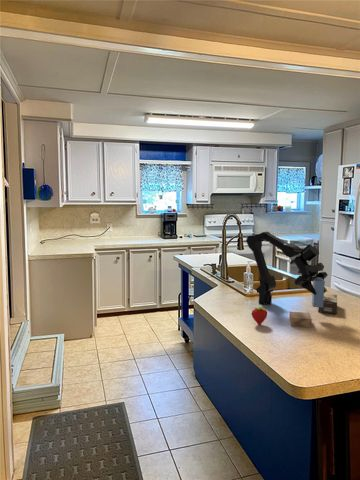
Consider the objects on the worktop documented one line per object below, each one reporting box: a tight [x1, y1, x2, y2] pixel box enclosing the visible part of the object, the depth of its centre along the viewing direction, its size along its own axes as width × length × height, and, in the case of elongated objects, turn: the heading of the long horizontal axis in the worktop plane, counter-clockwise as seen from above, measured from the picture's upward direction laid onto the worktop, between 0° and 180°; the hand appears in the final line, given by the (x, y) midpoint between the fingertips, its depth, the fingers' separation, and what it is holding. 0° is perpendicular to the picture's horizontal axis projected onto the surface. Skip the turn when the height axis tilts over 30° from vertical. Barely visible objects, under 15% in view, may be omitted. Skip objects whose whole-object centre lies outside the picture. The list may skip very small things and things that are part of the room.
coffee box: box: [317, 292, 338, 315], centre depth 195 cm, size 9×6×16 cm
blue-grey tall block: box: [311, 277, 325, 308], centre depth 178 cm, size 4×4×14 cm
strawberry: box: [251, 306, 268, 326], centre depth 171 cm, size 6×8×10 cm
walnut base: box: [289, 311, 312, 328], centre depth 174 cm, size 9×9×4 cm
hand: (320, 293), depth 177 cm, fingers closed on blue-grey tall block, 6 cm apart
